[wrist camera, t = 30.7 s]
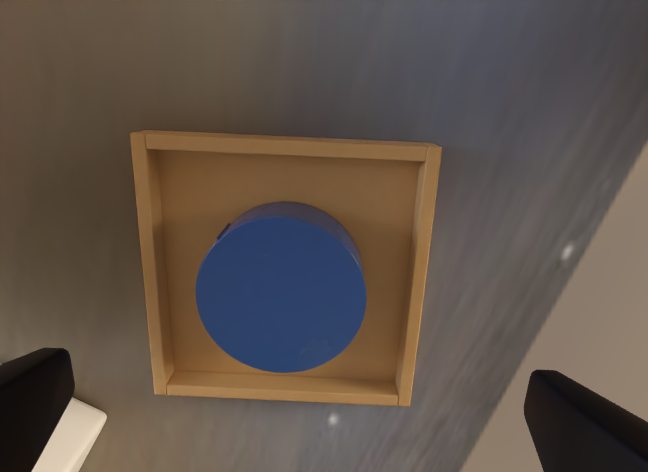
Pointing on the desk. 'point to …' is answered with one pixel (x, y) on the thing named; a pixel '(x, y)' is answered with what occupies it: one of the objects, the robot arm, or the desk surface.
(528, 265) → the desk surface
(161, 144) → the tray
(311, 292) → the jar lid
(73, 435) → the medicine bottle
